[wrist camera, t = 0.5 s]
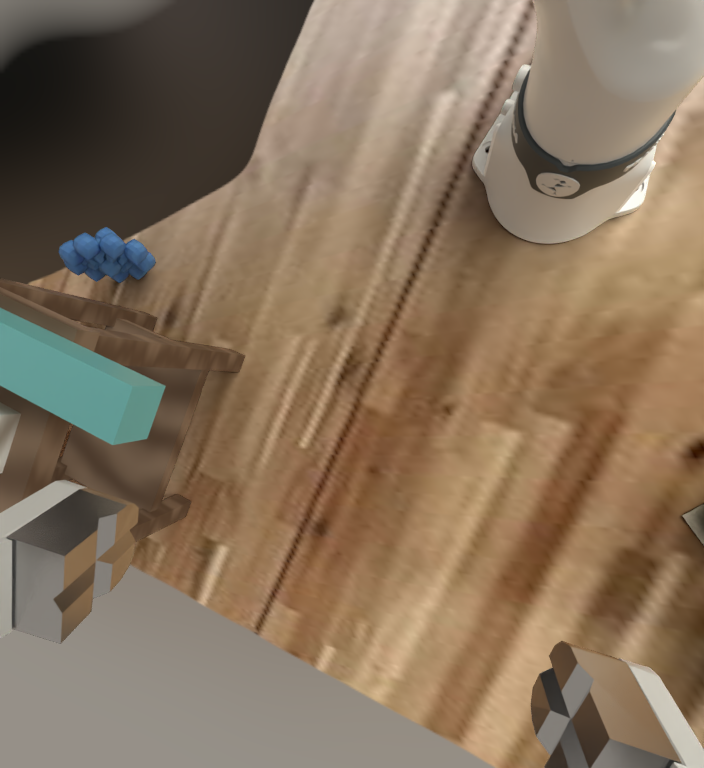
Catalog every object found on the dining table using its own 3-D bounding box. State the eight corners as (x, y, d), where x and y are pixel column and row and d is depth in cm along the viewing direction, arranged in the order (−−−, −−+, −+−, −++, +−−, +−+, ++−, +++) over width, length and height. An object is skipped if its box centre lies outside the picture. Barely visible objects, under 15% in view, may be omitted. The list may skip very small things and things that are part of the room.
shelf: (143, 309, 59) (-177, 231, 29) (247, 354, 55) (5, 319, 25) (89, 465, 61) (-259, 545, 31) (186, 519, 57) (-105, 669, 27)
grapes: (174, 233, 58) (104, 195, 46) (179, 280, 58) (111, 254, 46) (106, 250, 61) (25, 218, 49) (111, 295, 60) (30, 273, 49)
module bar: (-70, 274, 33) (-120, 264, 30) (165, 386, 28) (132, 386, 25) (-83, 320, 34) (-134, 314, 31) (147, 438, 28) (112, 445, 26)
